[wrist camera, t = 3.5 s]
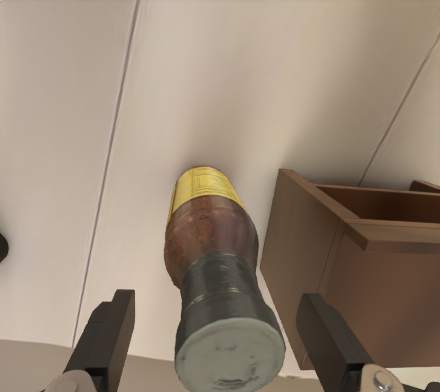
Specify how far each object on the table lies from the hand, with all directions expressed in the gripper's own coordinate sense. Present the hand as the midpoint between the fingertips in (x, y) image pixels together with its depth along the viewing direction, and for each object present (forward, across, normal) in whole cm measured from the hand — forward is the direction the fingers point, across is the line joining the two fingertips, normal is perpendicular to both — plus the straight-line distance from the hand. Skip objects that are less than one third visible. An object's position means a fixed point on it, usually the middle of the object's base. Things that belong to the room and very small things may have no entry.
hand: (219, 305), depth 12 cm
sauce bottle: (+17, 0, 0) cm, 17 cm away
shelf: (+17, -17, +3) cm, 24 cm away
